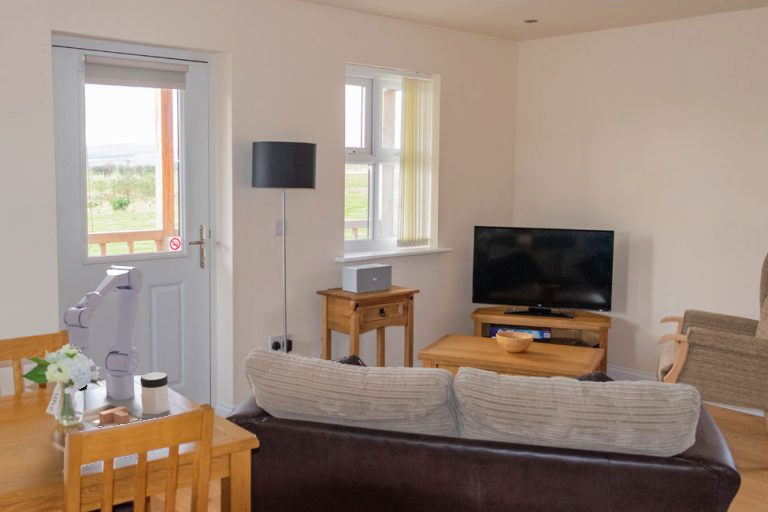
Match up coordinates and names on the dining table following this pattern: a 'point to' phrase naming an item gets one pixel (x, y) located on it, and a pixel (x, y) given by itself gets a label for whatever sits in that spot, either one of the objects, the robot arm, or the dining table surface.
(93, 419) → the board
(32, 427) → the dining table surface
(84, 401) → the dining table surface
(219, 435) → the dining table surface
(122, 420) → the t block
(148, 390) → the jar
